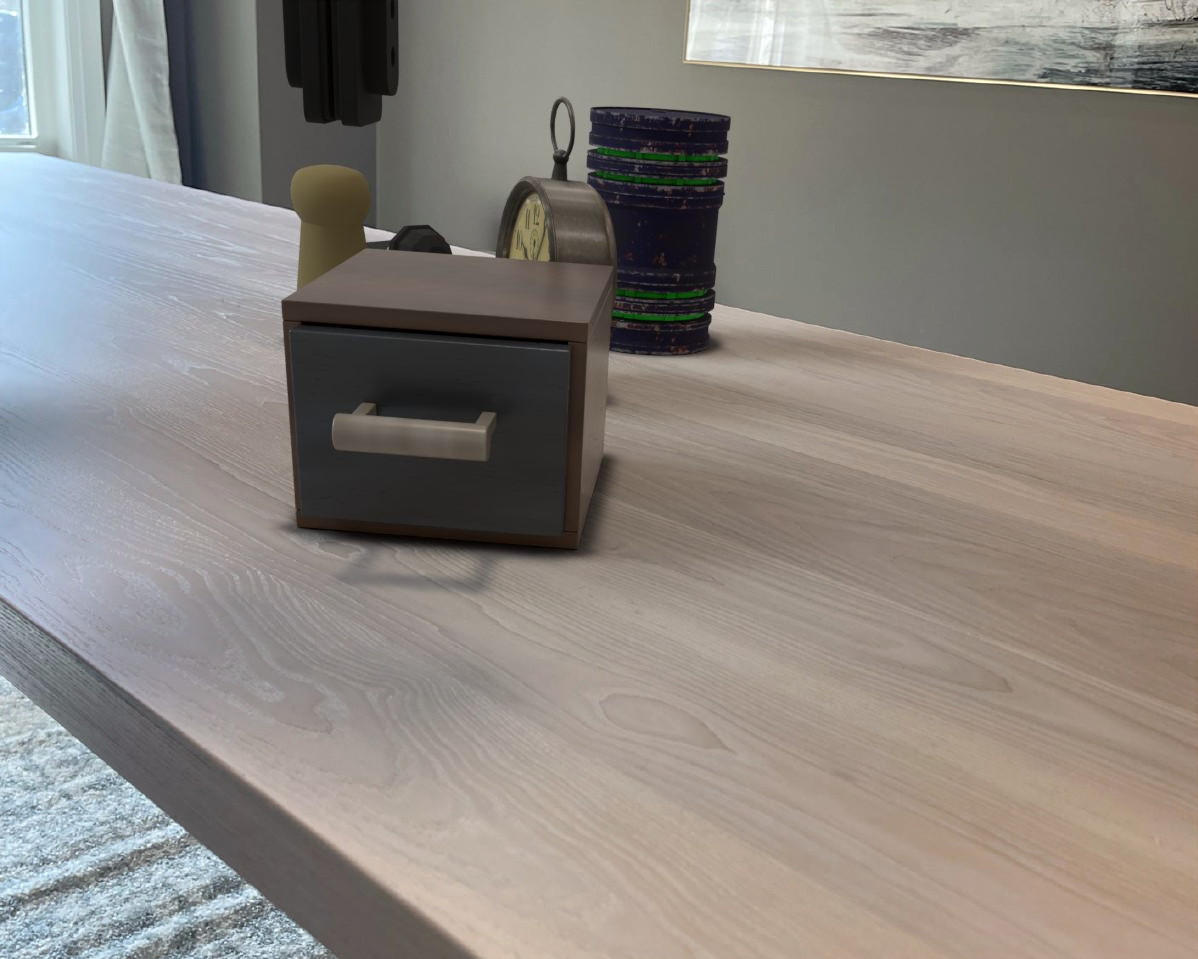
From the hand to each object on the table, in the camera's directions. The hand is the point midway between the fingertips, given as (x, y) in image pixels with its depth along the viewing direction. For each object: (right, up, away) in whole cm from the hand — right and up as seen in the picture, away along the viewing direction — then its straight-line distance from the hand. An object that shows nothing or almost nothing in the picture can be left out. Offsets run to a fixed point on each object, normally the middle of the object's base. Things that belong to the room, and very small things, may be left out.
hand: (344, 120), depth 38 cm
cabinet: (+1, -5, +25) cm, 25 cm away
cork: (-11, +11, +51) cm, 54 cm away
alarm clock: (+5, +6, +44) cm, 44 cm away
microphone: (-11, +23, +71) cm, 75 cm away
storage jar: (+11, +14, +57) cm, 60 cm away
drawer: (+1, -6, +21) cm, 22 cm away
